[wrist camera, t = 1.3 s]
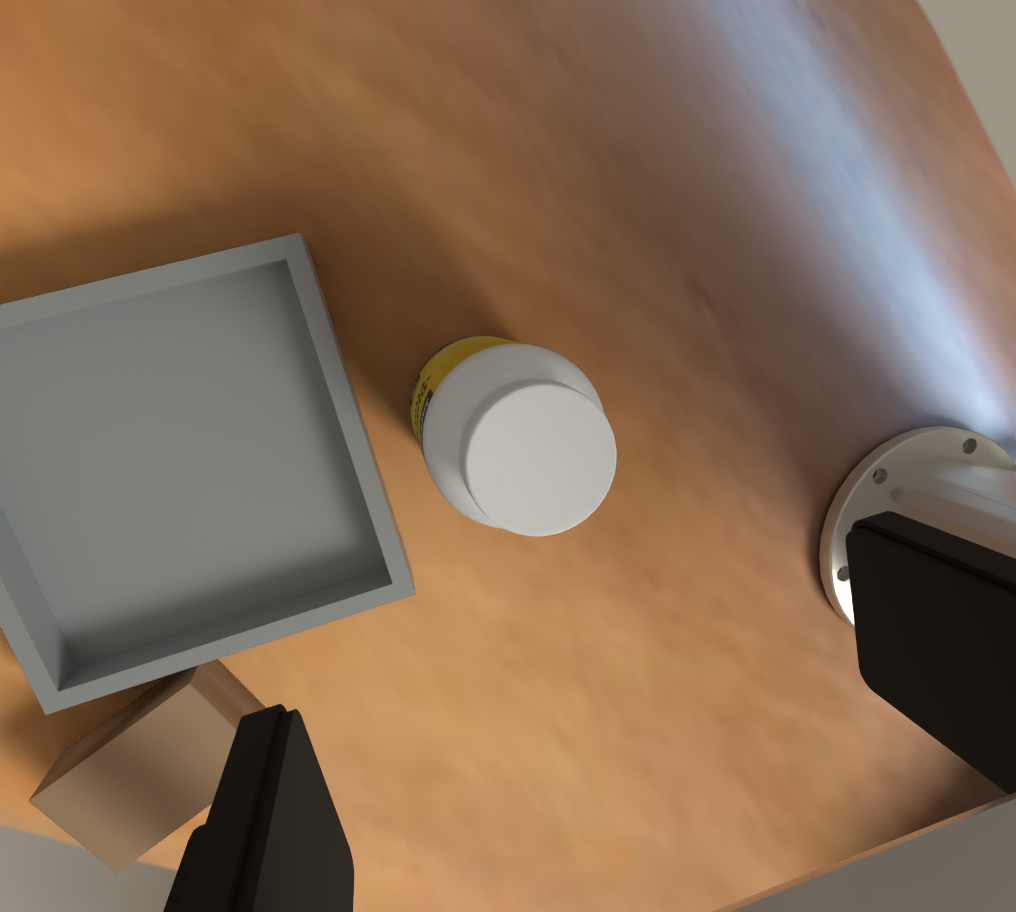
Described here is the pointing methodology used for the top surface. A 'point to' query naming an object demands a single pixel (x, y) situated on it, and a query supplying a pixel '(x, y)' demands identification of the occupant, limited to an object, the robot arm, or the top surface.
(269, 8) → the top surface
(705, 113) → the top surface
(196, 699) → the walnut block
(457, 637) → the top surface
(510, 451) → the pill bottle
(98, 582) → the tray
